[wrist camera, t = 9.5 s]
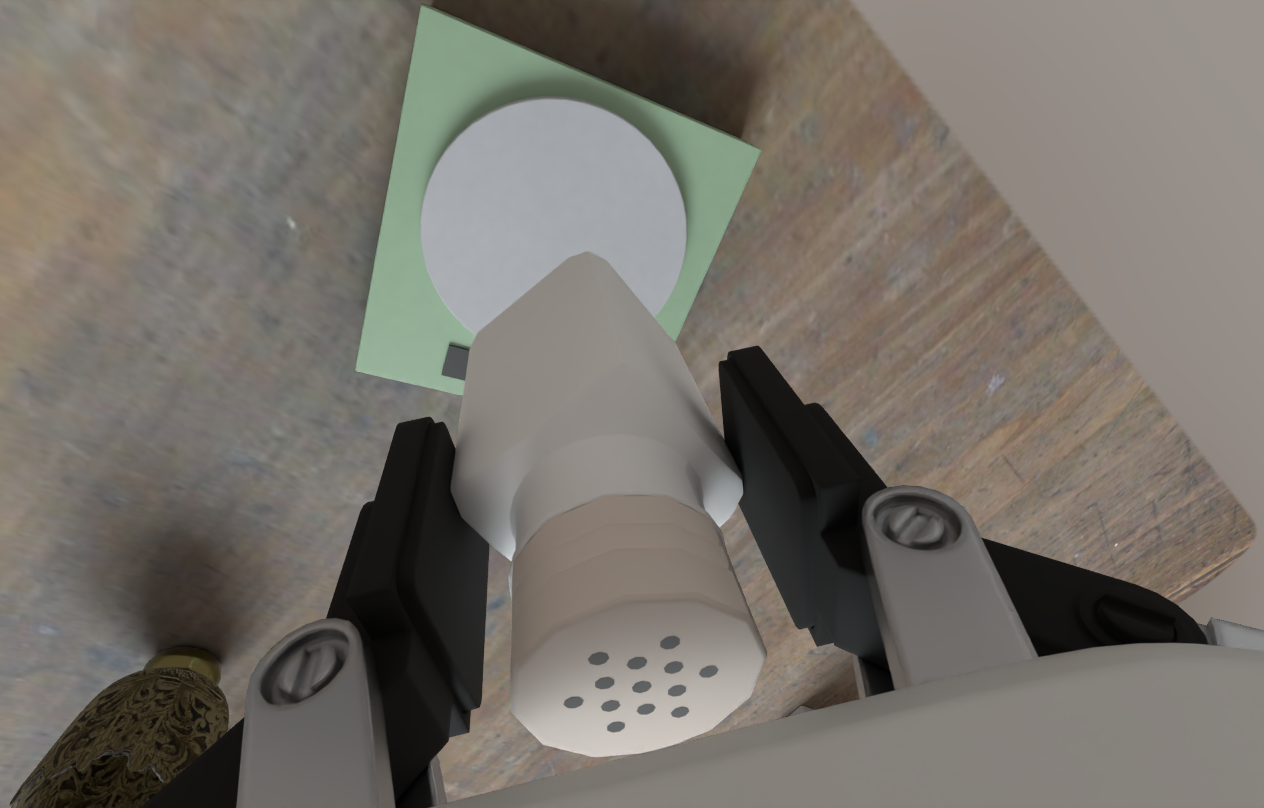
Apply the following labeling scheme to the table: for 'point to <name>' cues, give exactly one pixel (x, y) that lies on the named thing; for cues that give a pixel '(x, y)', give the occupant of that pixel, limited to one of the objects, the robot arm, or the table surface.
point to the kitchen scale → (531, 197)
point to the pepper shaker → (604, 518)
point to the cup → (133, 736)
